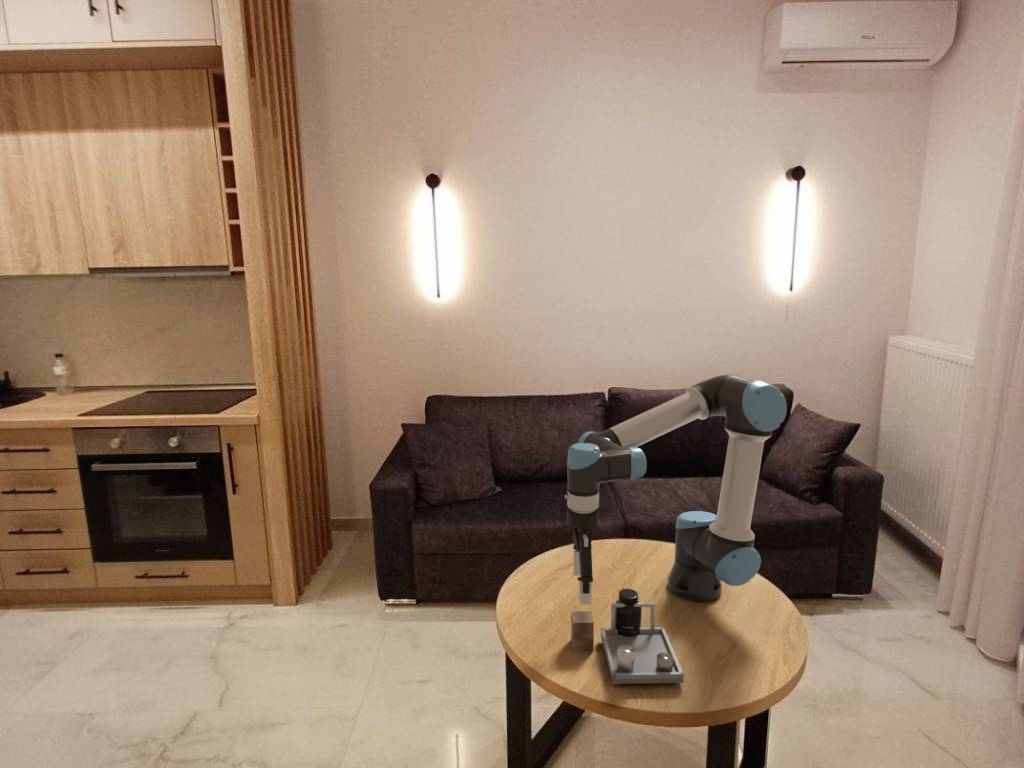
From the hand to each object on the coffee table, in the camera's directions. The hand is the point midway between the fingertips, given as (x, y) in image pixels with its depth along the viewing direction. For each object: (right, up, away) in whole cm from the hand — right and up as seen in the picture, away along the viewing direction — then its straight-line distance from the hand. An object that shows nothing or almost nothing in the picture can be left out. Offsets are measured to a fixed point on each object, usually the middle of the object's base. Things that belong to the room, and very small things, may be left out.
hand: (581, 588), depth 151 cm
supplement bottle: (+12, -14, +6) cm, 20 cm away
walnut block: (0, -15, +3) cm, 16 cm away
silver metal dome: (+18, -15, -10) cm, 26 cm away
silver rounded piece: (+9, -15, -10) cm, 20 cm away
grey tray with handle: (+13, -17, -4) cm, 22 cm away
